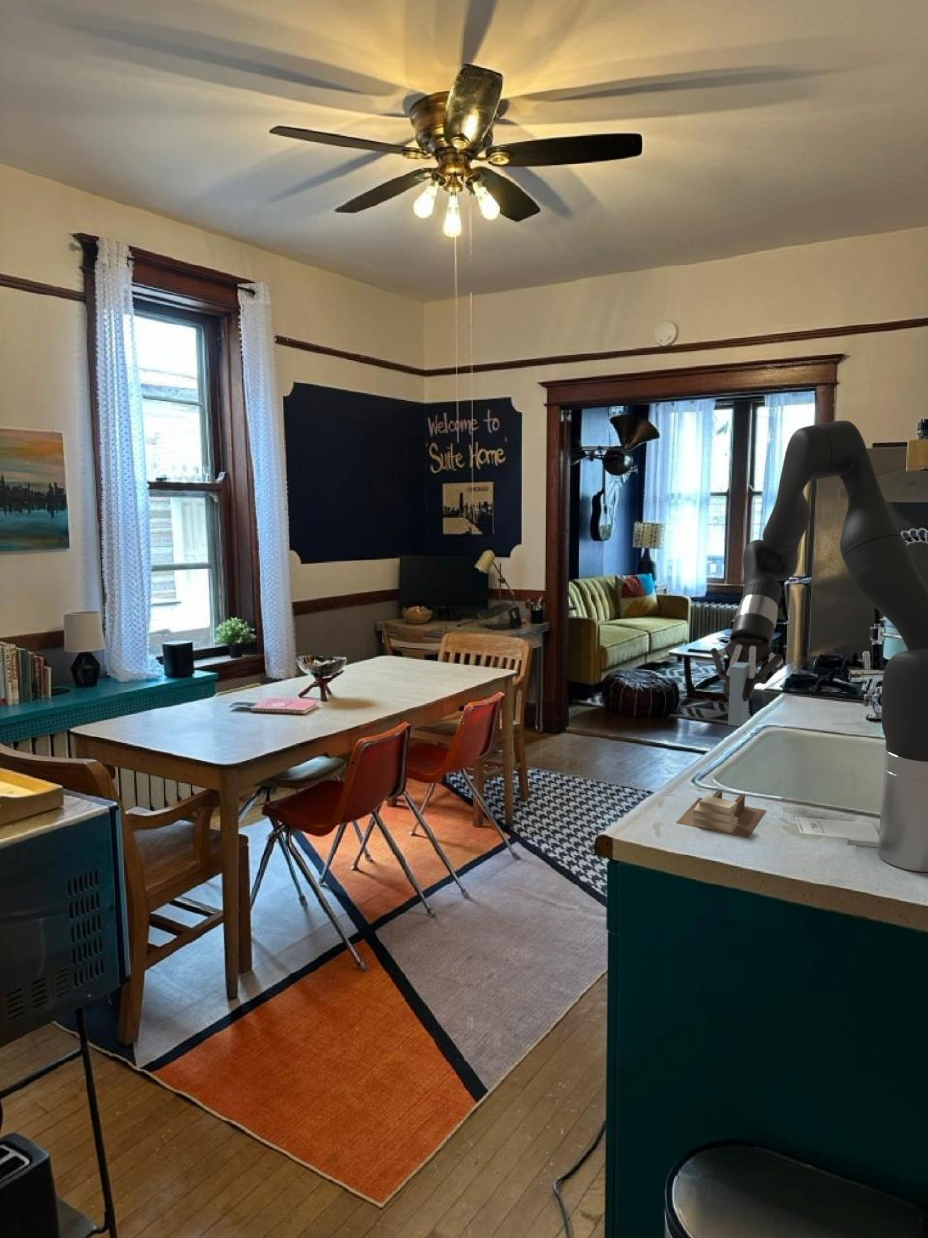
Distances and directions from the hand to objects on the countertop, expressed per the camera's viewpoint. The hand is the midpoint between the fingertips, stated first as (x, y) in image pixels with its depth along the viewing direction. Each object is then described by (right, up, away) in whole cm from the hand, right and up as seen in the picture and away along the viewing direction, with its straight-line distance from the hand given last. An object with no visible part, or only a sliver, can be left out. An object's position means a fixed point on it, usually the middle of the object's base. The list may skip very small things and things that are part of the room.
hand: (736, 697), depth 148 cm
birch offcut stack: (-7, -21, -11) cm, 25 cm away
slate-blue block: (+1, -5, +3) cm, 6 cm away
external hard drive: (+13, -23, -12) cm, 29 cm away
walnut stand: (-5, -21, -7) cm, 23 cm away
